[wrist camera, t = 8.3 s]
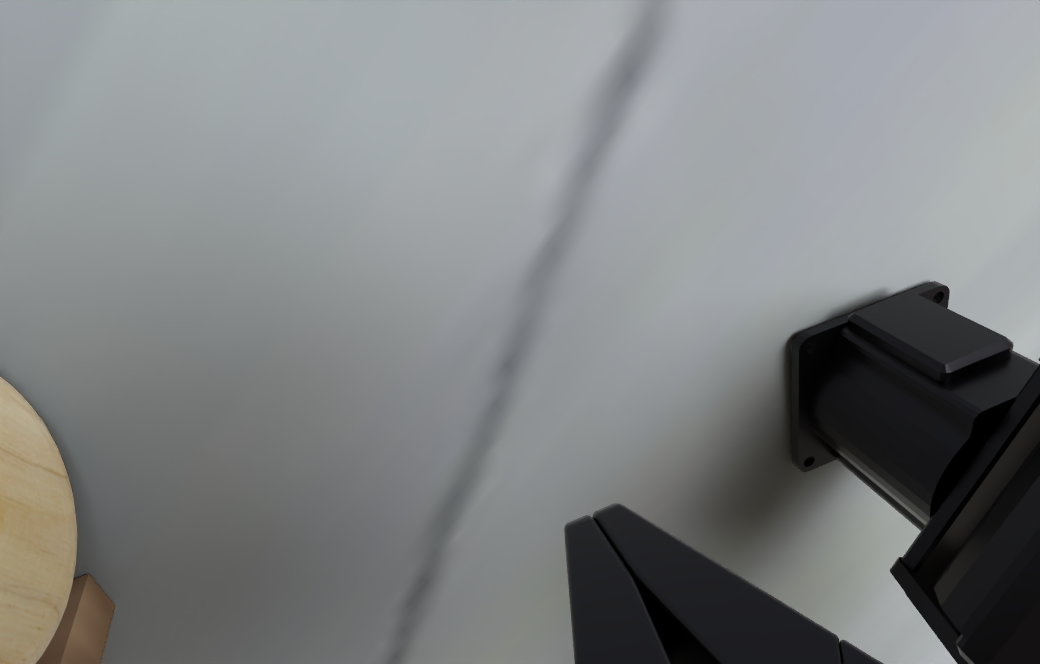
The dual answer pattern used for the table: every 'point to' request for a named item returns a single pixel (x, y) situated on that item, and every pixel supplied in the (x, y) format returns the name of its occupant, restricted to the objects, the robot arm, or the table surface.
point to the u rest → (81, 626)
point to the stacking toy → (32, 532)
